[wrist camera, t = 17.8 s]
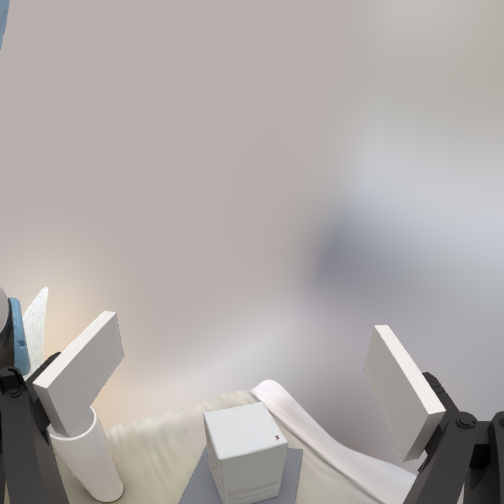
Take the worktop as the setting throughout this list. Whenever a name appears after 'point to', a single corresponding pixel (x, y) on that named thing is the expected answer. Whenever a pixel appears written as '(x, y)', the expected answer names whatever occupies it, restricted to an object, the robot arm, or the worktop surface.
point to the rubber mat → (208, 500)
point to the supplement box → (245, 453)
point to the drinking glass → (89, 457)
